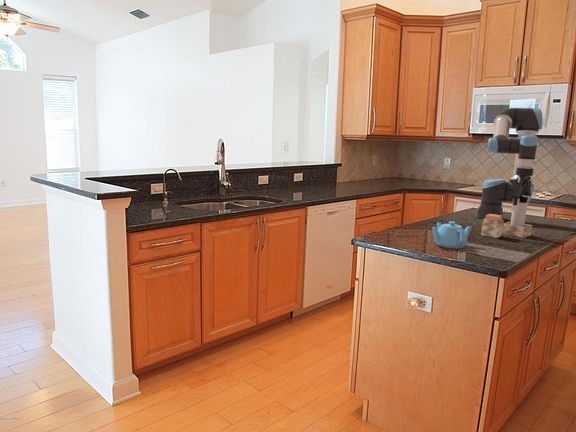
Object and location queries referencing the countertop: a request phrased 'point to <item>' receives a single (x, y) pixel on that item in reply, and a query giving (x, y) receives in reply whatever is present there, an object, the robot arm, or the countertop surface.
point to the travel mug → (520, 213)
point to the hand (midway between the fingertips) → (519, 210)
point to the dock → (504, 229)
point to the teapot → (450, 235)
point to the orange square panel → (493, 217)
